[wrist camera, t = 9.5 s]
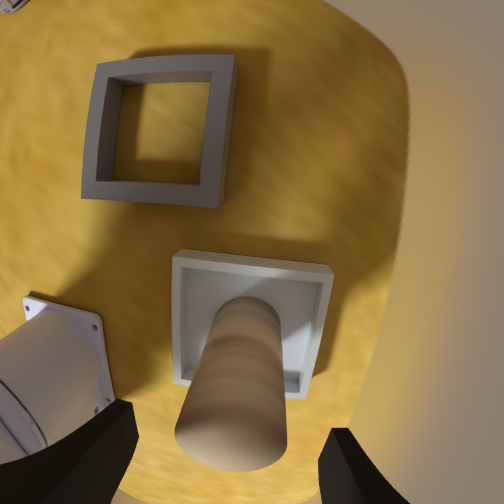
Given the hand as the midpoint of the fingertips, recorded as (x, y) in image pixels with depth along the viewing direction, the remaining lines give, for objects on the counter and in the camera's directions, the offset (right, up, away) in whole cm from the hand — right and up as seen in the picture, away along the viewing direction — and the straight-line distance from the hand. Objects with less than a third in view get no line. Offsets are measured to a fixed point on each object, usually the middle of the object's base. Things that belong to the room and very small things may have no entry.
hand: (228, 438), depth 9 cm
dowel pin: (+1, +2, +9) cm, 9 cm away
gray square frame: (-4, +14, +6) cm, 16 cm away
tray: (+1, +2, +9) cm, 9 cm away
